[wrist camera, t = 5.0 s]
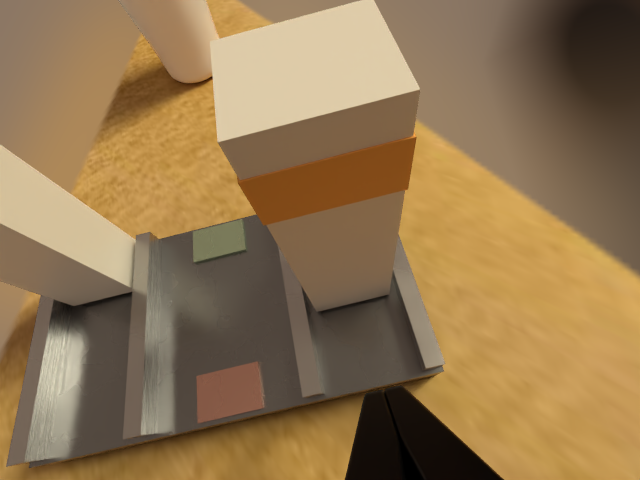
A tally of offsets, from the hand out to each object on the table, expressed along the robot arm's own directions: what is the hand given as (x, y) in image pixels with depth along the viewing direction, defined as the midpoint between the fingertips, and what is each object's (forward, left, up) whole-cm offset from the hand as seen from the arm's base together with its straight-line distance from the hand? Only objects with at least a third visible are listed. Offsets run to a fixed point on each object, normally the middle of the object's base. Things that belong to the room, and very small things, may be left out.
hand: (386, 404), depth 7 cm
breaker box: (+2, +9, -10) cm, 13 cm away
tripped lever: (+5, +3, -8) cm, 10 cm away
